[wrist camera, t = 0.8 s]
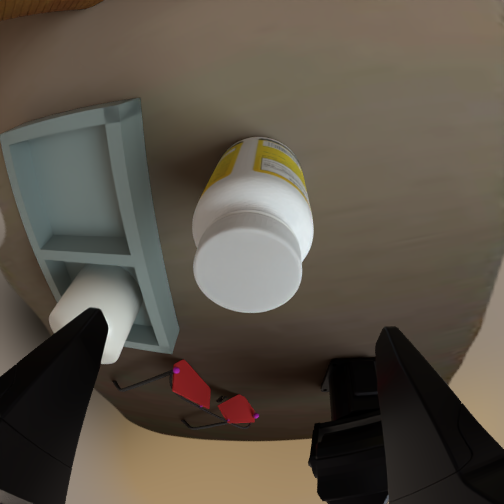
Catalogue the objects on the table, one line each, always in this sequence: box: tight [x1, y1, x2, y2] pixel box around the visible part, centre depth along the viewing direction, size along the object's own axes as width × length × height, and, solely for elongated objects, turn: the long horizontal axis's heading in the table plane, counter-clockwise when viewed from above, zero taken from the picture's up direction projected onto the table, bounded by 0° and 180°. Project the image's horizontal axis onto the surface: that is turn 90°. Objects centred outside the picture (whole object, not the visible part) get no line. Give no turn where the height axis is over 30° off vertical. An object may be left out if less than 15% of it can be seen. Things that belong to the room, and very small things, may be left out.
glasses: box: [113, 360, 259, 430], centre depth 35 cm, size 14×16×5 cm
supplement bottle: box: [192, 137, 314, 313], centre depth 15 cm, size 5×5×10 cm
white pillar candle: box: [49, 263, 143, 364], centre depth 22 cm, size 6×6×6 cm
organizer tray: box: [0, 98, 179, 354], centre depth 21 cm, size 21×11×3 cm, turn 0°
